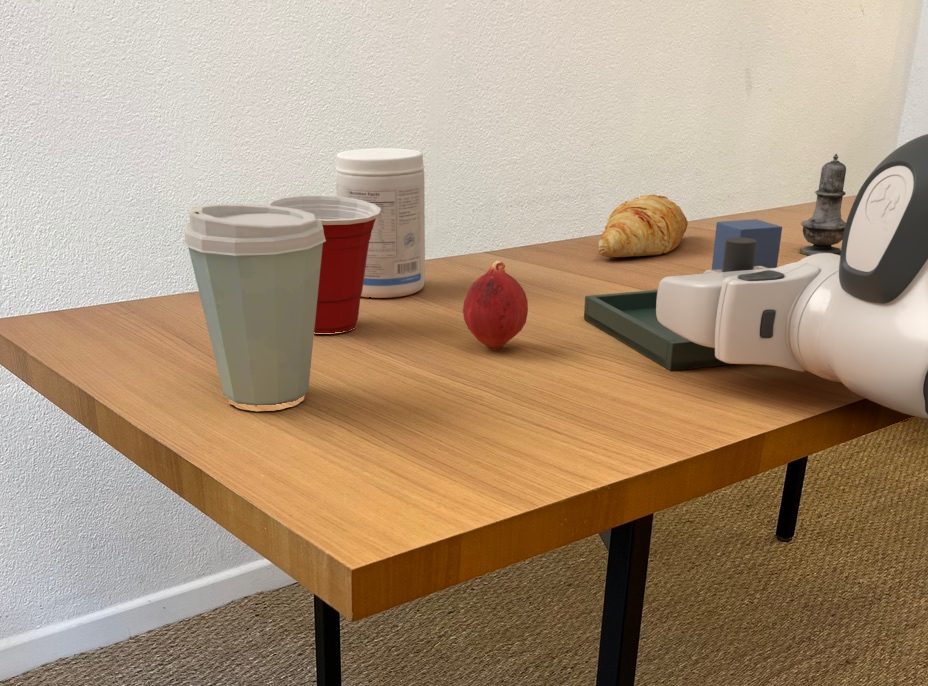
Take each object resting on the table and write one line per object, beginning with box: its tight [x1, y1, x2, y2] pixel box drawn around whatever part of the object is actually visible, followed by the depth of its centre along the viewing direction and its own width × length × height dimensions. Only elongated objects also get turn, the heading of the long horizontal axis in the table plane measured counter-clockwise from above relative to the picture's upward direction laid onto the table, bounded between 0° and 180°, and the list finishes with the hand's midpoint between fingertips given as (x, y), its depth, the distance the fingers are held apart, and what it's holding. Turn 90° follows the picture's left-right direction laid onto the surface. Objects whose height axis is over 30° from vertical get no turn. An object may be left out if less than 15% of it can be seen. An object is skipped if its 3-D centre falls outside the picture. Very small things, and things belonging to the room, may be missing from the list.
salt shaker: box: [799, 153, 847, 256], centre depth 131 cm, size 6×6×12 cm
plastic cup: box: [266, 195, 381, 333], centre depth 101 cm, size 11×11×12 cm
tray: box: [583, 237, 757, 371], centre depth 97 cm, size 16×18×10 cm
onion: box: [462, 260, 529, 350], centre depth 94 cm, size 6×6×8 cm
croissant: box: [597, 194, 689, 258], centre depth 135 cm, size 21×10×8 cm, turn 143°
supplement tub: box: [335, 147, 426, 299], centre depth 115 cm, size 10×10×15 cm
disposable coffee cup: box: [183, 203, 326, 406], centre depth 81 cm, size 11×11×15 cm
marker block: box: [711, 218, 783, 270], centre depth 115 cm, size 5×5×7 cm
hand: (729, 277), depth 93 cm, fingers closed on tray, 2 cm apart
